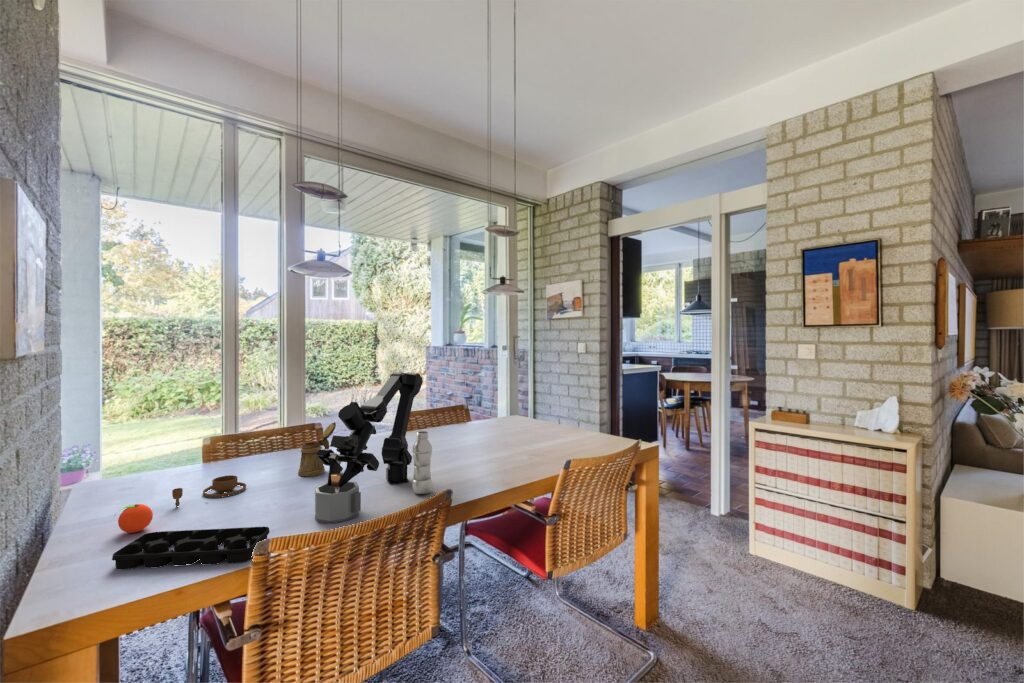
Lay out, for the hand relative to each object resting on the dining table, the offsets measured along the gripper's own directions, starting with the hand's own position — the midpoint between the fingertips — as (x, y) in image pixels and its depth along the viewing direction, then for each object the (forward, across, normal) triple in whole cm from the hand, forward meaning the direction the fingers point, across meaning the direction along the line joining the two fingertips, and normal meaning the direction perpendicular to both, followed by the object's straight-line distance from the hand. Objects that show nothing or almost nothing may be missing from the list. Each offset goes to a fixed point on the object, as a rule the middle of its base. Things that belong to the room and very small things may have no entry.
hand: (333, 486), depth 125 cm
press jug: (+5, 0, +7) cm, 9 cm away
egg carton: (+26, -16, -13) cm, 33 cm away
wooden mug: (-17, -34, +30) cm, 48 cm away
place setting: (+5, -50, +8) cm, 50 cm away
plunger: (+4, 0, +6) cm, 8 cm away
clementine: (+23, -43, -11) cm, 50 cm away
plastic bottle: (-11, +14, +24) cm, 30 cm away
